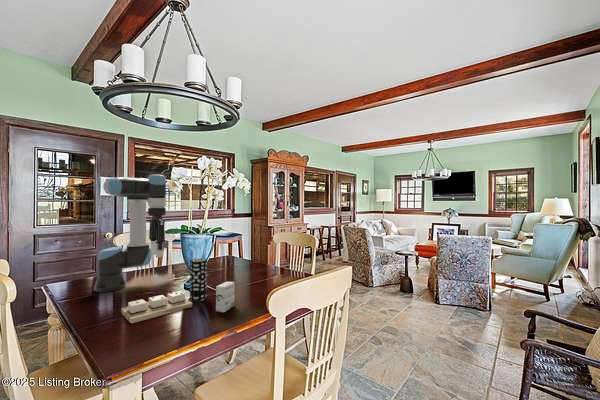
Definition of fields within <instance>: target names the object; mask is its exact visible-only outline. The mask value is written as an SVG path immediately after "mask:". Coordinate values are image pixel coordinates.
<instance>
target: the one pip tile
mask: <svg viewBox="0 0 600 400" xmlns="http://www.w3.org/2000/svg"><path fill="white" fill-rule="evenodd" d="M147 302H148V301H145V300H144V299H136V300H132V301H129V302H127V307H128V310H129V311H130V312H131V314H136V313H140V312H144V310H147Z"/></svg>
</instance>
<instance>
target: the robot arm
mask: <svg viewBox="0 0 600 400" xmlns="http://www.w3.org/2000/svg"><path fill="white" fill-rule="evenodd" d="M102 187H103V190H104V191H105V193H106V194H108V195H109V196H110V195H111V196H114V197H121V198H126V200H127V201H128V202H129V243H127V245H126V248H123V246H113V247H108V248H104V249H101V250H99V252H98V257H97V260H98V269H97V273H98V275H97V279H96V281H95V284H94V287H93V291H94V292H95V291H96V292H95V293H110V292H109V291H111V292H115V291H116V292H117V291H120V290H122V289H125V288H126V287H127V283H126V278H125V277H124V273H123V270H124V269H131V268H139V267H145V266H147V265H149V264H150V263H151V260H152V257H153V256H155V257H156V258H161V257H164V254H163V253H164V250H163V249H164V244H163V243H165V242H166V240H165V239H166V237H165V235H166V234H165V231H166V230H165V223H166V222H165V219H164V220H163V216H166V215H167V212H166V211H167V209H166V207H167V198H166V197H167V177H166V176H165V175H163V174H149V175H148V177H147V178H143V177H125V176H123V177H121V176H119V177H113V178H112V177H111V178H109V179H106V180H105V181H104V183H103V186H102ZM147 205H148V208H147ZM147 215H148V216H149V217H152V218H149V230H148V231H149V235H148V239H149V241H150V244H149V242H147Z"/></svg>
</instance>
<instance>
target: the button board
mask: <svg viewBox="0 0 600 400" xmlns="http://www.w3.org/2000/svg"><path fill="white" fill-rule="evenodd" d="M166 298H167V305H163V306H159V307H155V308H152V307H151V306H150V305H149V301H146V302H147V310H143V311H139V312H135V313H131V312H130V311H129V310H128V306H125V307H121V308H120V313H121V314H122V316H124V317H125V319H126V320H127V322H129V323H131V324H135V323H139V322H142V321H145V320H150V319H153V318H157V317H160V316H163V315H168V314H171V313H176V312H178V311H182V310H186V309H190V308H193V301H191V300H190V299H187V298H185V300H183V301H179V302H175V303H171V302H170V301H168V296H167V297H166Z"/></svg>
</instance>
